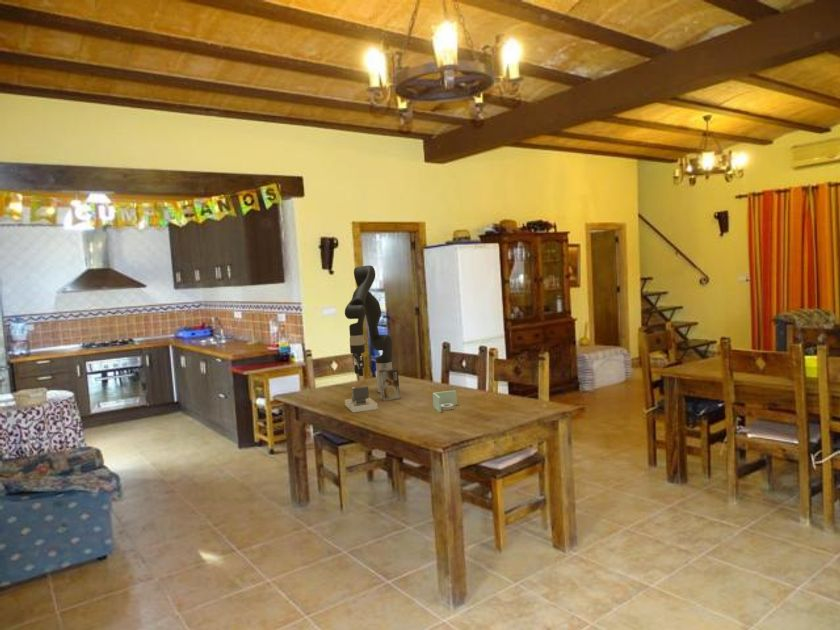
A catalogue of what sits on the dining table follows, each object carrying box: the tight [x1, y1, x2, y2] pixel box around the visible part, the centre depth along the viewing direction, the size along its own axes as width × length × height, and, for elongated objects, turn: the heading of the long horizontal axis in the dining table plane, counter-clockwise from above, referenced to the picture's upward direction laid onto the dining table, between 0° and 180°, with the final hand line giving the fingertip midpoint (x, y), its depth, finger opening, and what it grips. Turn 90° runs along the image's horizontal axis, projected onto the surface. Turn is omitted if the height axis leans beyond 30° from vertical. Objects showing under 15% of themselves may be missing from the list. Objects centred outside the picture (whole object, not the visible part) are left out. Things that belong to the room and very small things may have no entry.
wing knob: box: [351, 386, 370, 403], centre depth 312 cm, size 8×5×8 cm, turn 109°
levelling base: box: [344, 394, 378, 413], centre depth 314 cm, size 13×18×6 cm
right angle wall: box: [432, 389, 458, 413], centre depth 300 cm, size 12×12×8 cm
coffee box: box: [379, 368, 401, 402], centre depth 329 cm, size 9×6×16 cm
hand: (359, 374), depth 311 cm, fingers open, 8 cm apart
